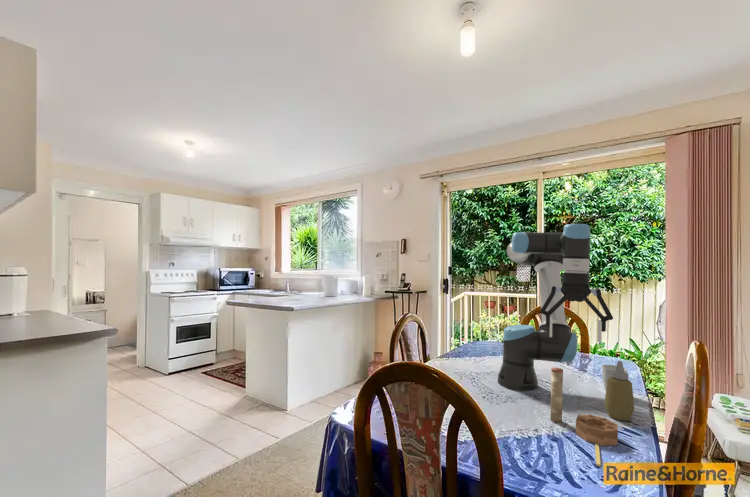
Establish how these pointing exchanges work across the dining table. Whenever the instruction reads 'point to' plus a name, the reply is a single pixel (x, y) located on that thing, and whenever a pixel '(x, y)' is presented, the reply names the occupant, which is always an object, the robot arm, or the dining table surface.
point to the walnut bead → (597, 430)
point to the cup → (608, 373)
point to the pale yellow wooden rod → (597, 455)
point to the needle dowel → (556, 394)
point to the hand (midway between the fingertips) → (574, 339)
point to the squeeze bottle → (619, 394)
